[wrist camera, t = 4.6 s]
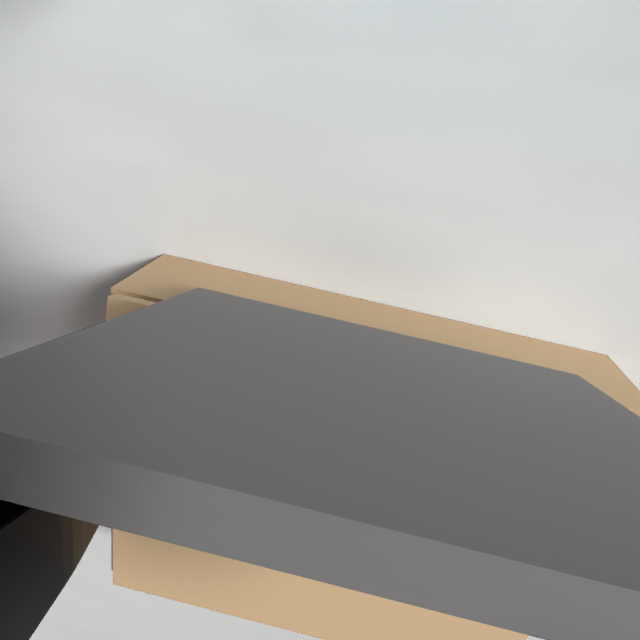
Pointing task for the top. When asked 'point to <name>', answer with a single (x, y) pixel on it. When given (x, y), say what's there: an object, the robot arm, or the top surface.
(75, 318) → the top surface
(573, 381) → the carton flap
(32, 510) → the robot arm
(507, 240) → the top surface
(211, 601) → the carton
